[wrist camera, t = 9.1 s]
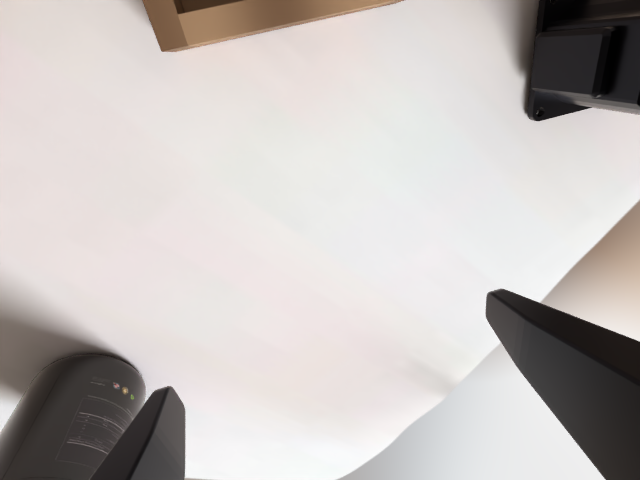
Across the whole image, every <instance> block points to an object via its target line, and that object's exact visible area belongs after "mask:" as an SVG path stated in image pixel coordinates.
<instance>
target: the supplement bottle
mask: <svg viewBox="0 0 640 480" xmlns="http://www.w3.org/2000/svg"><path fill="white" fill-rule="evenodd" d="M145 395H146V388H145V383H144V381H143V379H142V377H141V375H140V374H139V373H138V372H137V371H136V370H135V369H134V368H133V367H132V366H130V365H129V364H127V363H126V362H124V361H122V360H119V359H117V358H114V357H110V356H105V355H98V354H82V355H74V356H70V357H66V358H63V359H60V360H58V361H56V362H54V363H52V364H50V365H48V366H47V367H45V368H44V369H43V370H42V371H41V372H39V373H38V375H37V376H36V377H35V378H34V380H33V381H32V383H31V384H30V386H29V387H28V389H27V391H26V392H25V394H24V395H23V397H22V398H21V400H20V402H19V403H18V405H17V406H16V408H15V410H14V411H13V413H12V415H11V416H10V418H9V419H8V421H7V423H6V424H5V426H4V428H3V429H2V431H1V432H0V480H89V479H90V478H91V476H92V475H93V474H94V472H95V471H96V469H97V468H98V467H99V465H100V464H101V463H102V461H103V460H104V459H105V457H106V456H107V454H108V453H109V452H110V450H111V449H112V448H113V446H114V445H115V444H116V442H117V441H118V439H119V438H120V437H121V435H122V434H123V433H124V431H125V430H126V429H127V427H128V426H129V424H130V423H131V422H132V420H133V419H134V418H135V416H136V415H137V413H138V412H139V411H140V409H141V408H142V407H143V405H144V401H145Z"/></svg>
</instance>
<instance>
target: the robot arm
mask: <svg viewBox="0 0 640 480" xmlns="http://www.w3.org/2000/svg"><path fill="white" fill-rule="evenodd" d="M592 107H593V108H599V109H606V110H612V111H619V112H625V113H631V114H638V115H640V0H552V2H551V3H550V0H540V1H539V10H538V19H537V29H536V38H535V48H534V57H533V67H532V76H531V86H530V95H529V105H528V117H529V119H531V120H534V121H541V120H545V119H549V118H553V117H557V116H561V115H565V114H569V113H573V112H576V111H580V110H584V109H588V108H592ZM538 109H539V113H538V114H536V113H537V110H538ZM486 318H487V320H488V322H489V324H490V325H491V327H492V329H493V330H494V332H495V333H496V335H497V336H498V338H499V340H500V341H501V343H502V344H503V346H504V347H505V349H506V351H507V352H508V354H509V355H510V357H511V358H512V360H513V361H514V363H515V365H516V366H517V367H518V369H519V370H520V371H521V373H522V374H523V375H524V377H525V378H526V379H527V380H528V382H529V383H530V384H531V386H532V387H533V388H534V389H535V391H536V392H537V393H538V394H539V396H540V397H541V398H542V400H543V401H544V402H545V403H546V405H547V406H548V407H549V408H550V410H551V411H552V412H553V414H554V415H555V416H556V417H557V419H558V420H559V421H560V422H561V424H562V425H563V426H564V427H565V429H566V430H567V431H568V433H569V434H570V435H571V436H572V438H573V439H574V440H575V441H576V443H577V444H578V445H579V446H580V448H581V449H582V450H583V452H584V453H585V454H586V455H587V456H588V458H589V459H590V460H591V462H592V463H593V464H594V466H595V467H596V468H597V469H598V470H599V472H600V473H601V474H602V476H603V477H604V478H605V479H606V480H640V342H639V341H637V340H634V339H631V338H629V337H626V336H624V335H621V334H618V333H616V332H613V331H611V330H608V329H605V328H603V327H600V326H598V325H595V324H593V323H590V322H588V321H585V320H582V319H580V318H577V317H575V316H572V315H570V314H567V313H564V312H562V311H559V310H556V309H554V308H552V307H549V306H546V305H544V304H541V303H539V302H536V301H534V300H531V299H528V298H526V297H523V296H521V295H518V294H515V293H513V292H510V291H508V290H505V289H498V290H494V291H491V292H489V293H488V294H487V299H486ZM184 477H185V408H184V405H183V403H182V401H181V400H180V398H179V396H178V395H177V393H176V392H175V390H174V389H173V387H171V386H167V387H164V388H161V389H157V390H155V391H154V392H153V393H152V394H151V396H150V397H149V398H148V400H147V401H146V403H145V404H144V405H143V407H142V408H141V409H140V411H139V412H138V413H137V415H136V416H135V418H134V419H133V420H132V422H131V423H130V424H129V426H128V427H127V429H126V430H125V431H124V433H123V434H122V435H121V437H120V438H119V439H118V441H117V442H116V444H115V445H114V446H113V448H112V449H111V450H110V452H109V453H108V454H107V456H106V457H105V459H104V460H103V461H102V463H101V464H100V465H99V467H98V468H97V469H96V471H95V472H94V474H93V475H92V476H91V478H90V479H89V480H184Z"/></svg>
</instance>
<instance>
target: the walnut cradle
mask: <svg viewBox="0 0 640 480" xmlns="http://www.w3.org/2000/svg"><path fill="white" fill-rule="evenodd" d="M401 1H404V0H143V3H144V6H145V8H146V11H147V14H148V16H149V19H150V22H151V24H152V27H153V30H154V33H155V35H156V38H157V41H158V43H159V46H160V49H161V51H162V52H177V51H182V50H186V49H191V48H195V47H200V46H204V45H209V44H213V43H218V42H222V41H227V40H231V39H236V38H240V37H245V36H249V35H254V34H259V33H263V32H268V31H272V30H277V29H281V28H286V27H290V26H295V25H299V24H304V23H308V22H313V21H317V20H322V19H326V18H331V17H336V16H340V15H345V14H349V13H354V12H358V11H363V10H367V9H372V8H376V7H381V6H385V5H390V4H394V3H398V2H401Z"/></svg>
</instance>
